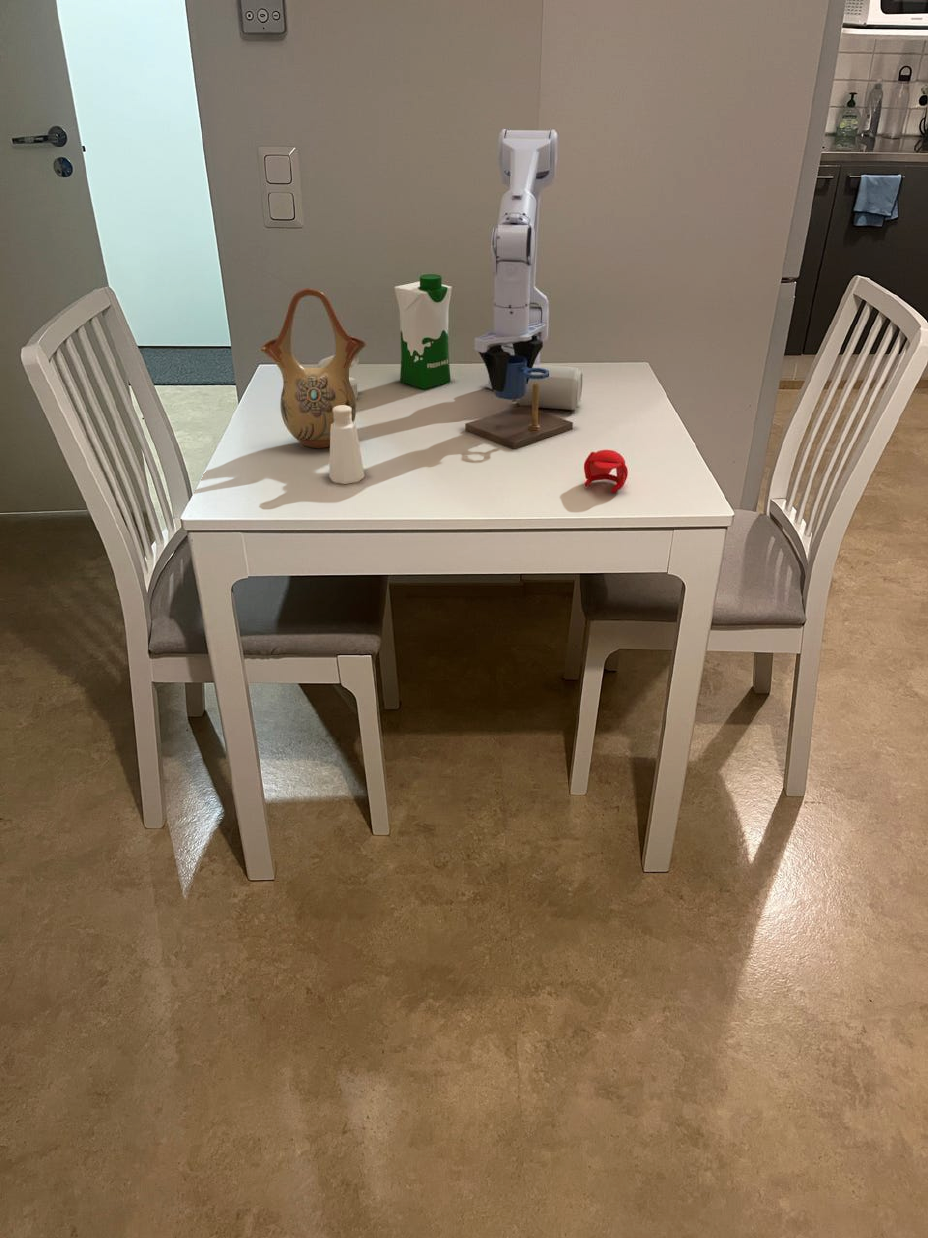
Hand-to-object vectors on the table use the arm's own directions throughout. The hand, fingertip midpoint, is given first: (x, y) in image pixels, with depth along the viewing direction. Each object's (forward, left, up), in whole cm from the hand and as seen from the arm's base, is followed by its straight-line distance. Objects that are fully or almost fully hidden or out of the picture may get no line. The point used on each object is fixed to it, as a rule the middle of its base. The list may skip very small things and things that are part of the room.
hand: (509, 386), depth 161 cm
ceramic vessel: (-15, -29, -7) cm, 33 cm away
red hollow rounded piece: (+28, -8, -7) cm, 30 cm away
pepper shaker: (-1, -34, -7) cm, 35 cm away
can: (+3, +15, -3) cm, 16 cm away
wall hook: (-33, -13, -7) cm, 36 cm away
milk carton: (-29, +5, -7) cm, 30 cm away
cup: (+3, 0, -1) cm, 3 cm away
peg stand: (+2, 0, -7) cm, 7 cm away
